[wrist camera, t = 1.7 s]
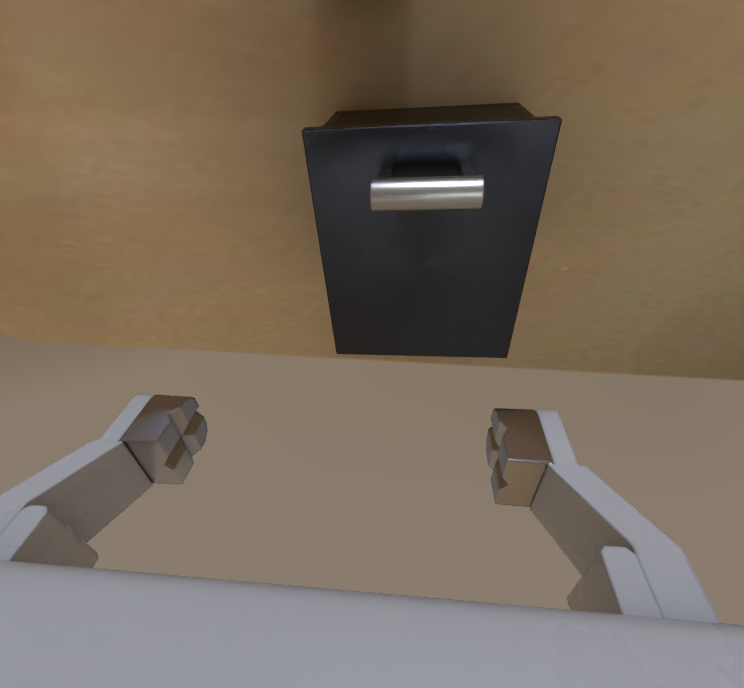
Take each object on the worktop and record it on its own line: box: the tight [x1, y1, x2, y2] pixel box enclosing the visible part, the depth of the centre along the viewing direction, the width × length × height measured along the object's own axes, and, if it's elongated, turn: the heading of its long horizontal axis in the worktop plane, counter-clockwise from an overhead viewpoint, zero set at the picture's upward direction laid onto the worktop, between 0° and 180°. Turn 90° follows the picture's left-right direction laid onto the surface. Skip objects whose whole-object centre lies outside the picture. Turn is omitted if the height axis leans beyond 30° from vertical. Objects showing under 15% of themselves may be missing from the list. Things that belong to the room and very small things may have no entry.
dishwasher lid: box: [302, 116, 562, 358], centre depth 24 cm, size 16×14×5 cm
